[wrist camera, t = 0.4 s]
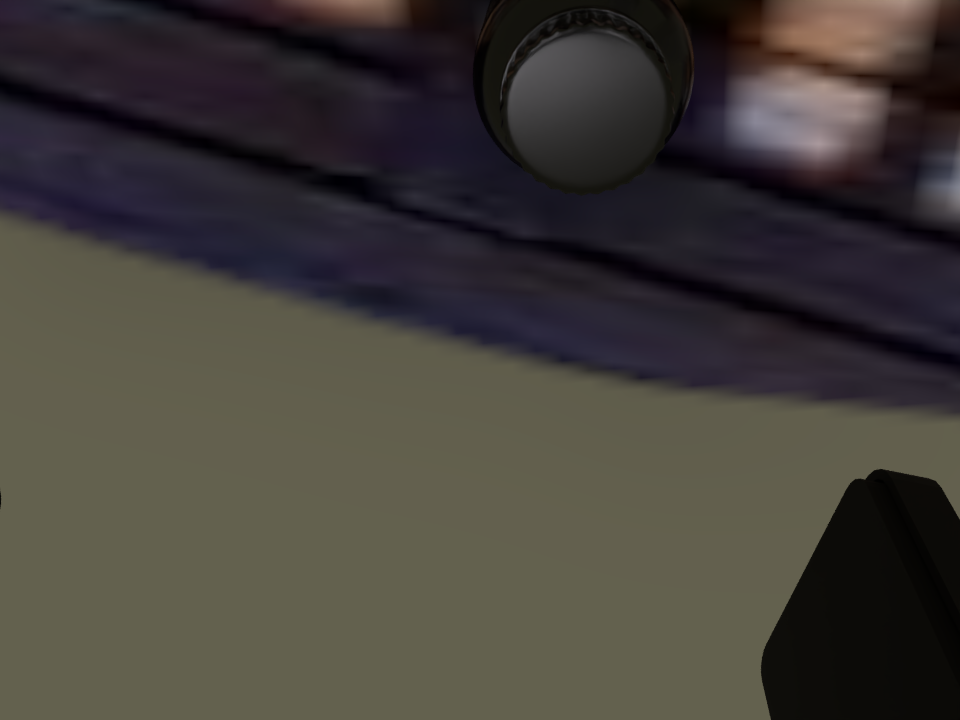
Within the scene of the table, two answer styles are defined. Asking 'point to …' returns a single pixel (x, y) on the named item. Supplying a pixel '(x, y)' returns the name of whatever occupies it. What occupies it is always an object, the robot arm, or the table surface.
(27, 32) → the table surface
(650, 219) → the table surface
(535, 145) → the supplement bottle
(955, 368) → the table surface
